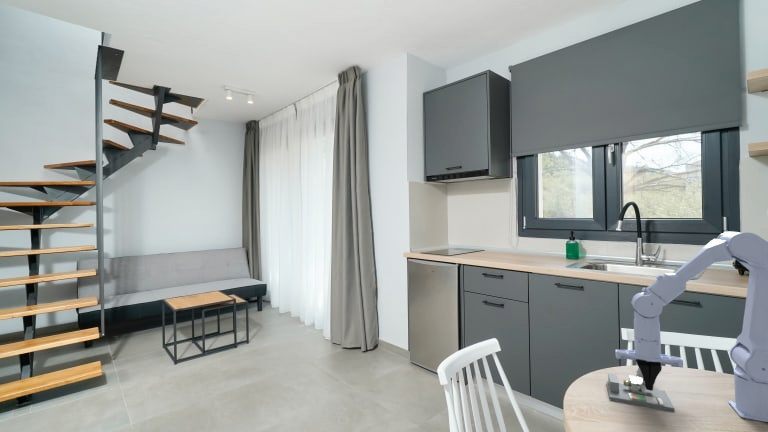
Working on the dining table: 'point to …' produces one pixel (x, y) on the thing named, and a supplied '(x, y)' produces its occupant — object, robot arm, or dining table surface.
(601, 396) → the dining table surface
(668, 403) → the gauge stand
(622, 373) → the dining table surface
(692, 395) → the dining table surface
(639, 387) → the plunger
